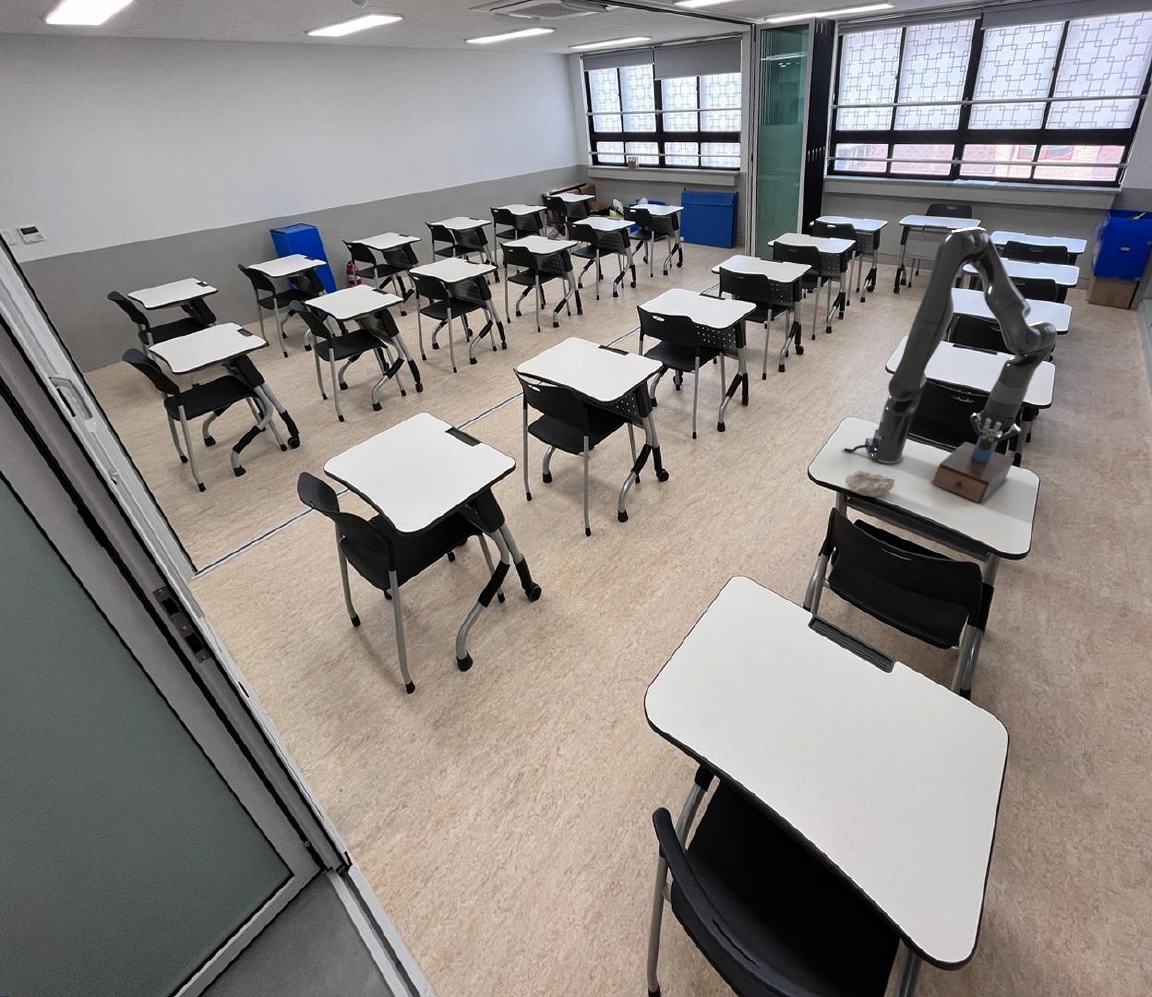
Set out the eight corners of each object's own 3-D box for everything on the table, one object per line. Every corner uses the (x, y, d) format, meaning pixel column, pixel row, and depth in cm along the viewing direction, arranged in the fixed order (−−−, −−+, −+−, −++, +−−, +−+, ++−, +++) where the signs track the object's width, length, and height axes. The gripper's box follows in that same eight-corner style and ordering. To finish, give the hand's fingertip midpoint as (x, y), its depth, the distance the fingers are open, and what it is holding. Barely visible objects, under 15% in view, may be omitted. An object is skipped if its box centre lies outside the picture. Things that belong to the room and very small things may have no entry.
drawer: (976, 503, 176) (983, 487, 172) (931, 485, 185) (937, 469, 181) (1001, 479, 184) (1008, 463, 180) (957, 462, 193) (963, 447, 189)
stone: (873, 509, 185) (896, 490, 178) (840, 487, 186) (862, 468, 179) (875, 496, 190) (898, 477, 183) (844, 475, 191) (865, 455, 184)
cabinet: (980, 503, 178) (989, 482, 173) (932, 483, 187) (939, 463, 182) (1005, 479, 186) (1014, 458, 181) (957, 461, 195) (965, 441, 190)
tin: (986, 464, 179) (997, 437, 173) (967, 458, 183) (978, 431, 177) (994, 457, 182) (1005, 430, 176) (975, 451, 185) (986, 424, 179)
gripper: (1040, 399, 152) (1014, 453, 163) (986, 383, 160) (965, 436, 171) (1028, 410, 148) (1003, 464, 159) (974, 393, 157) (953, 446, 168)
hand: (983, 449), depth 165 cm, fingers closed
